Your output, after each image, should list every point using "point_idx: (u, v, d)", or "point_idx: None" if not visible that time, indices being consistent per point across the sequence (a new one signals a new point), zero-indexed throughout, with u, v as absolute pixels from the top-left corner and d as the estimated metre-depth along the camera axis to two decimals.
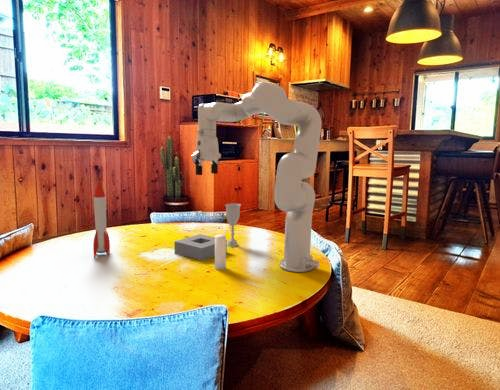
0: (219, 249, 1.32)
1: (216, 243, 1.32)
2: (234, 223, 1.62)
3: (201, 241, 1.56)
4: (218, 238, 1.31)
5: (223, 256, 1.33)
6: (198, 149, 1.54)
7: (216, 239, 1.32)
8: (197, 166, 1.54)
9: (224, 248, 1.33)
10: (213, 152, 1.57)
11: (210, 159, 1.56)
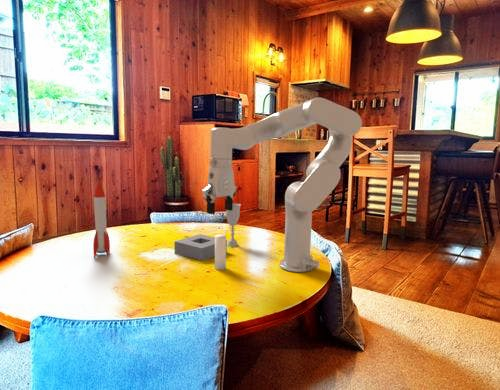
0: (219, 249, 1.32)
1: (216, 243, 1.32)
2: (234, 223, 1.62)
3: (201, 241, 1.56)
4: (218, 238, 1.31)
5: (223, 256, 1.33)
6: (210, 183, 1.26)
7: (216, 239, 1.32)
8: (209, 203, 1.27)
9: (224, 248, 1.33)
10: (228, 186, 1.30)
11: (224, 194, 1.29)
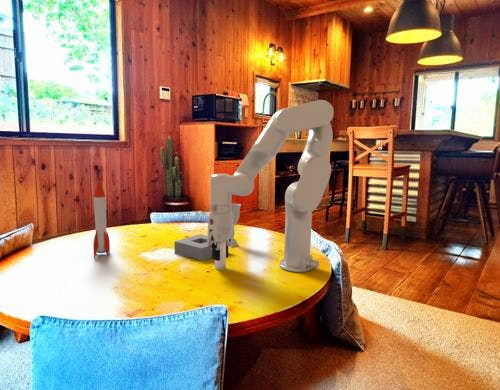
0: (219, 249, 1.32)
1: None
2: (234, 223, 1.62)
3: (201, 241, 1.56)
4: None
5: (223, 256, 1.33)
6: (210, 229, 1.29)
7: None
8: (214, 250, 1.31)
9: (224, 248, 1.33)
10: (228, 230, 1.32)
11: (224, 239, 1.31)
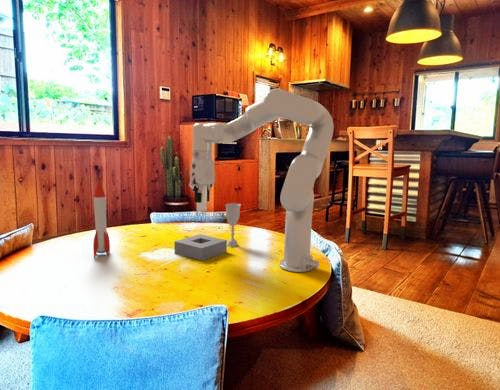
0: (200, 192, 1.45)
1: None
2: (234, 223, 1.62)
3: (201, 241, 1.56)
4: None
5: (204, 199, 1.46)
6: (193, 172, 1.42)
7: None
8: (196, 193, 1.45)
9: (205, 192, 1.46)
10: (209, 175, 1.46)
11: (206, 183, 1.45)
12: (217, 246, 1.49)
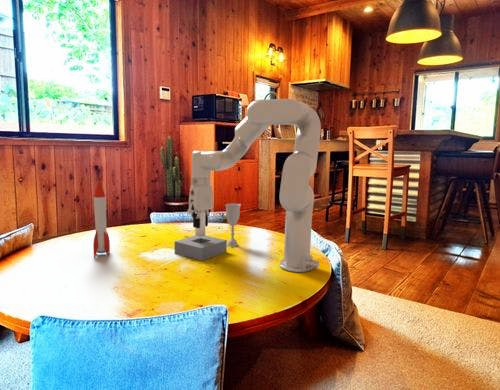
0: None
1: (196, 212, 1.49)
2: (234, 223, 1.62)
3: (201, 241, 1.56)
4: None
5: (203, 224, 1.49)
6: (191, 199, 1.45)
7: None
8: (194, 219, 1.48)
9: (204, 217, 1.49)
10: (207, 201, 1.49)
11: (204, 209, 1.48)
12: (217, 246, 1.49)
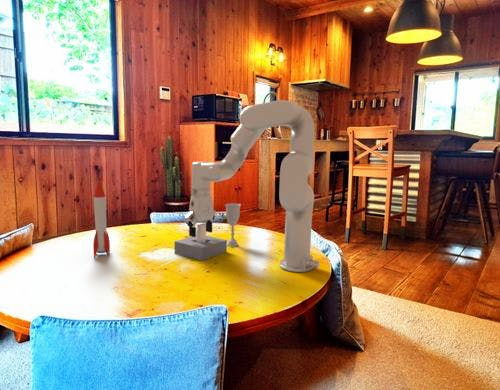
0: (199, 236, 1.50)
1: (197, 230, 1.50)
2: (234, 223, 1.62)
3: None
4: (199, 226, 1.49)
5: (203, 242, 1.50)
6: (191, 210, 1.46)
7: (197, 227, 1.50)
8: (190, 228, 1.46)
9: (204, 235, 1.50)
10: (207, 212, 1.49)
11: (204, 219, 1.48)
12: (217, 246, 1.49)
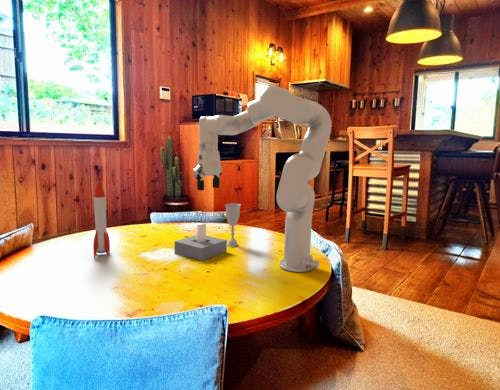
0: (199, 236, 1.50)
1: (197, 230, 1.50)
2: (234, 223, 1.62)
3: None
4: (198, 226, 1.49)
5: (203, 242, 1.50)
6: (200, 163, 1.48)
7: (197, 227, 1.50)
8: (199, 181, 1.49)
9: (204, 235, 1.50)
10: (215, 166, 1.52)
11: (212, 173, 1.51)
12: (217, 246, 1.49)
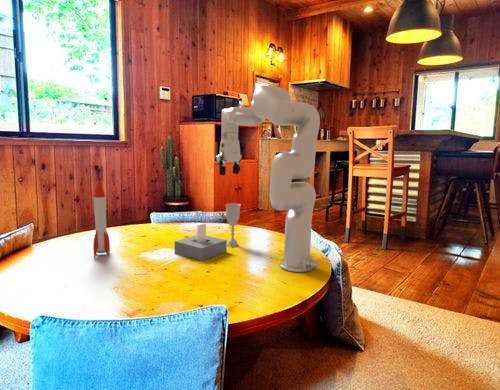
0: (199, 236, 1.50)
1: (197, 230, 1.50)
2: (234, 223, 1.62)
3: None
4: (199, 226, 1.49)
5: (203, 242, 1.50)
6: (222, 151, 1.65)
7: (197, 227, 1.50)
8: (221, 167, 1.65)
9: (204, 235, 1.50)
10: (235, 154, 1.68)
11: (233, 160, 1.67)
12: (217, 246, 1.49)
